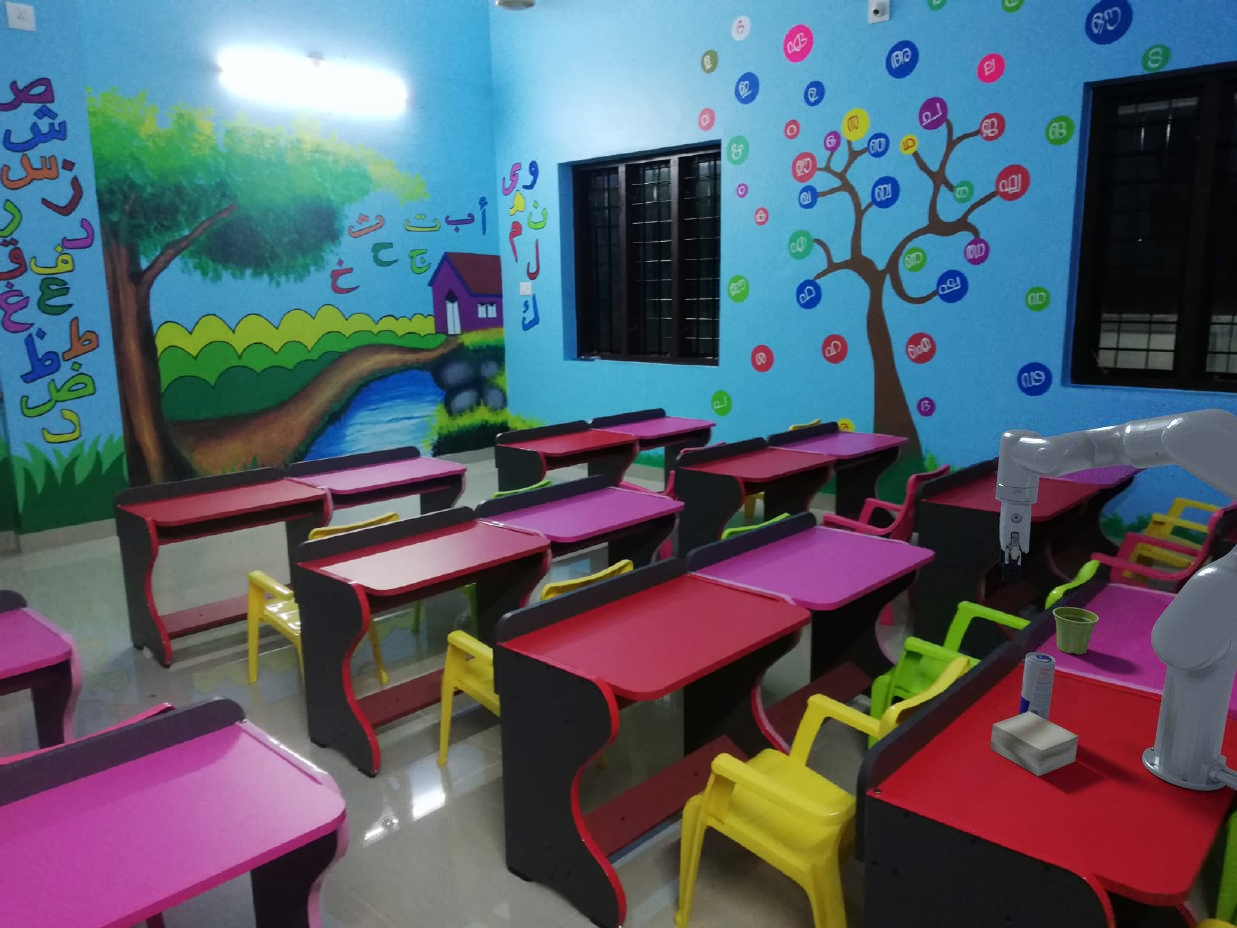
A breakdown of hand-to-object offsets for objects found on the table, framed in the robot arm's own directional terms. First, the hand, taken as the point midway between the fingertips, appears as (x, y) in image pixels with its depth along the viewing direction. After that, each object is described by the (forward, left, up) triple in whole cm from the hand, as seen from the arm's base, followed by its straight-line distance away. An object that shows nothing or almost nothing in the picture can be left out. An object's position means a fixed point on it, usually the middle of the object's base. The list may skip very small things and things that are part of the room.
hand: (1008, 574), depth 176 cm
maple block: (-19, +14, -26) cm, 35 cm away
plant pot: (+6, -33, -26) cm, 42 cm away
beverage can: (-13, +6, -26) cm, 30 cm away
